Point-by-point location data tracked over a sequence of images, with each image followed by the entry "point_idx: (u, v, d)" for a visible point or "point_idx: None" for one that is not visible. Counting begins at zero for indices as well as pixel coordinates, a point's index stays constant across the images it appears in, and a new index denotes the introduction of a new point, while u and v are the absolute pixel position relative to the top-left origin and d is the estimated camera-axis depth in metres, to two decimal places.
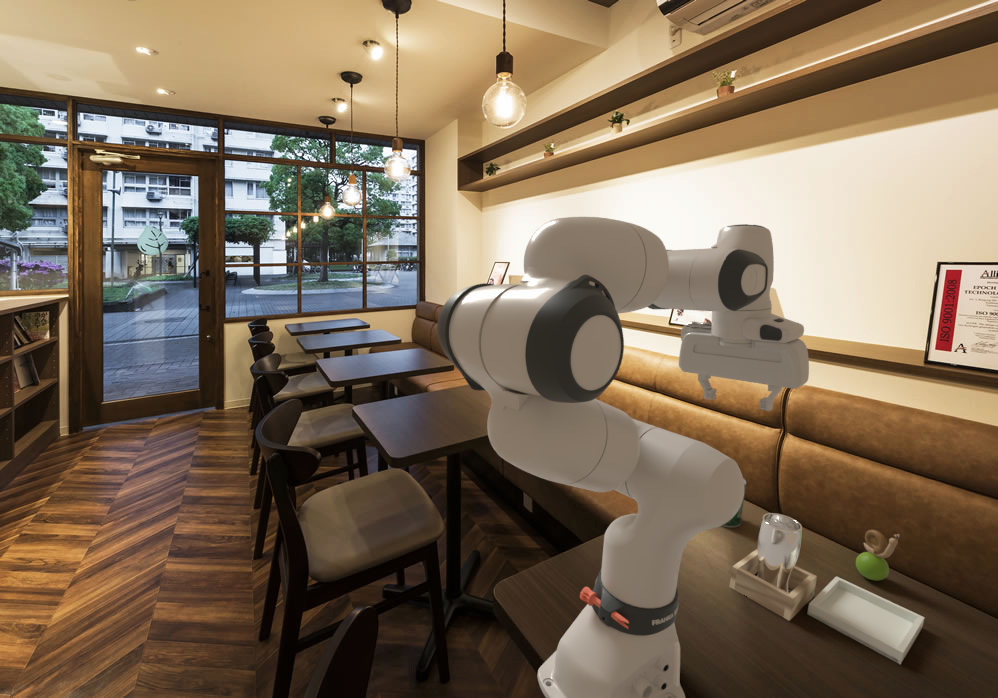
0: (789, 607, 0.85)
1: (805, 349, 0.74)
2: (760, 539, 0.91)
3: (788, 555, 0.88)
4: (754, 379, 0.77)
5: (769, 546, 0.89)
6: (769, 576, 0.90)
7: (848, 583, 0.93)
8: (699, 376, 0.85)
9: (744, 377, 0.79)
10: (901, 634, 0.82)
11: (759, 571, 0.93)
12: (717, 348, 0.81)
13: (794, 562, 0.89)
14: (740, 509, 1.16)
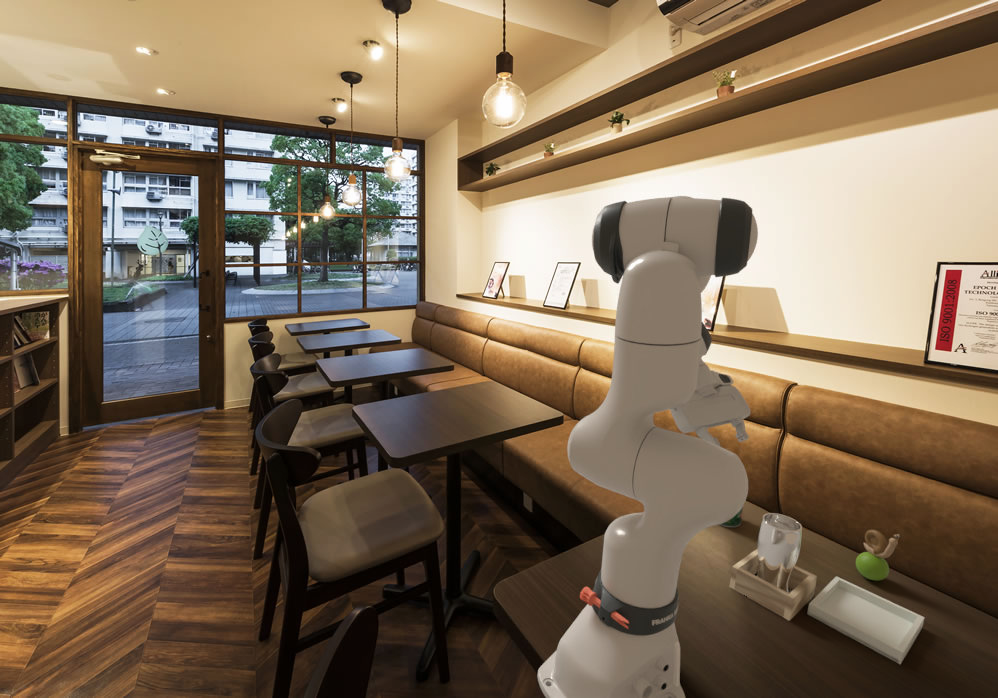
0: (789, 607, 0.85)
1: None
2: (760, 539, 0.91)
3: (788, 555, 0.88)
4: (732, 414, 1.02)
5: (769, 546, 0.89)
6: (769, 576, 0.90)
7: (848, 583, 0.93)
8: (703, 428, 0.97)
9: (728, 415, 1.01)
10: (901, 634, 0.82)
11: (759, 571, 0.93)
12: (701, 401, 1.01)
13: (794, 562, 0.89)
14: None
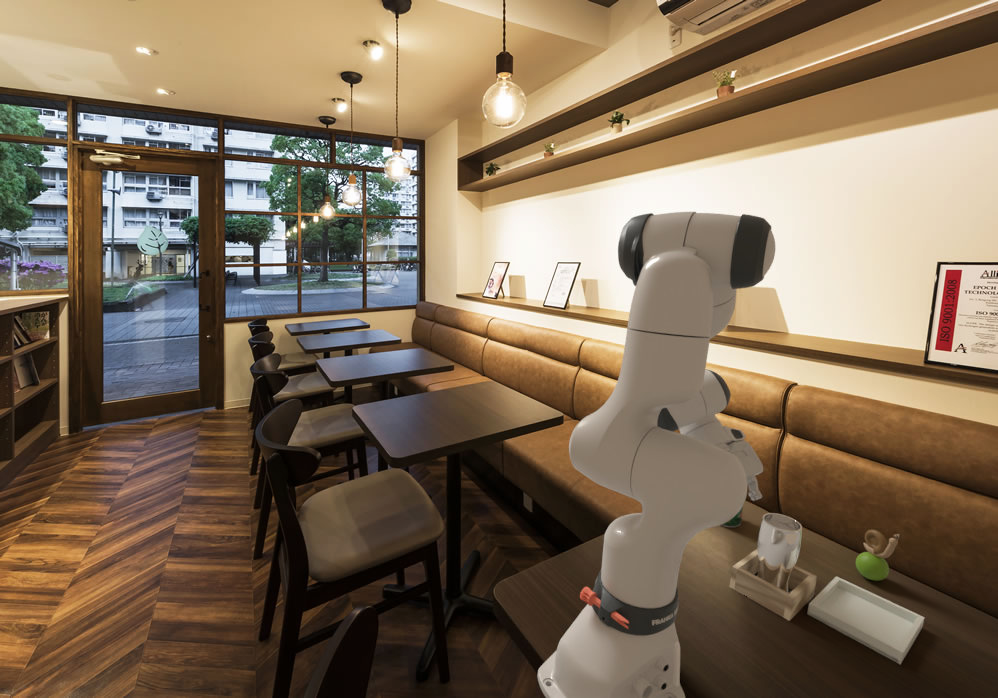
0: (789, 607, 0.85)
1: None
2: (760, 539, 0.91)
3: (788, 555, 0.88)
4: (745, 473, 1.00)
5: (769, 546, 0.89)
6: (769, 576, 0.90)
7: (848, 583, 0.93)
8: None
9: None
10: (901, 634, 0.82)
11: (759, 571, 0.93)
12: None
13: (794, 562, 0.89)
14: (740, 509, 1.16)
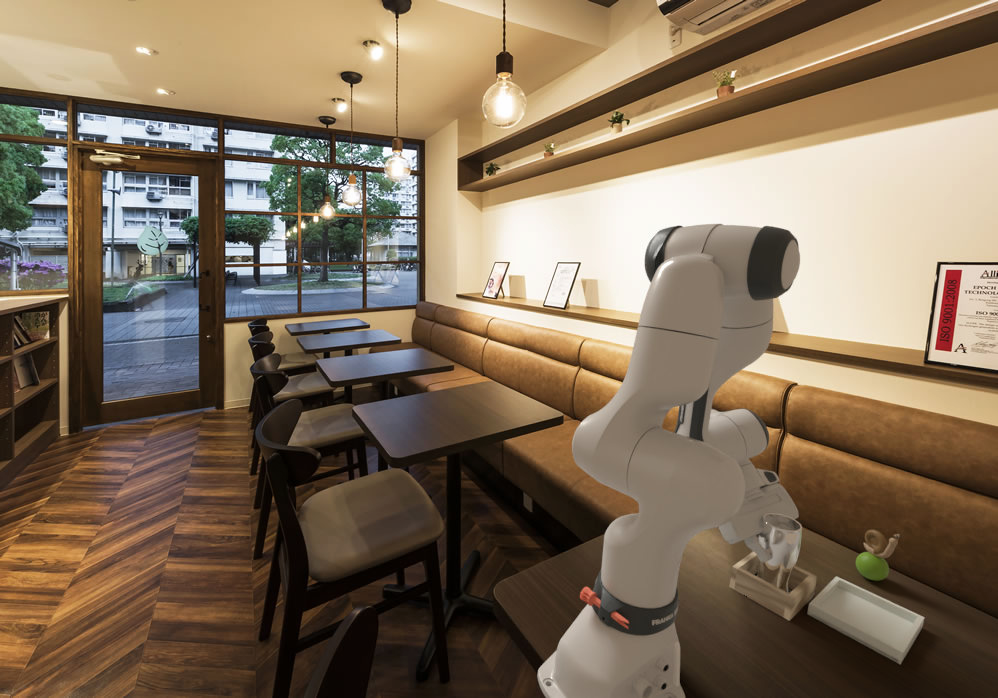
0: (789, 607, 0.85)
1: None
2: (760, 539, 0.91)
3: (788, 555, 0.88)
4: None
5: (769, 546, 0.89)
6: (769, 576, 0.90)
7: (848, 583, 0.93)
8: (754, 539, 0.89)
9: (776, 521, 0.93)
10: (901, 634, 0.82)
11: (759, 571, 0.93)
12: (747, 505, 0.93)
13: (794, 562, 0.89)
14: None
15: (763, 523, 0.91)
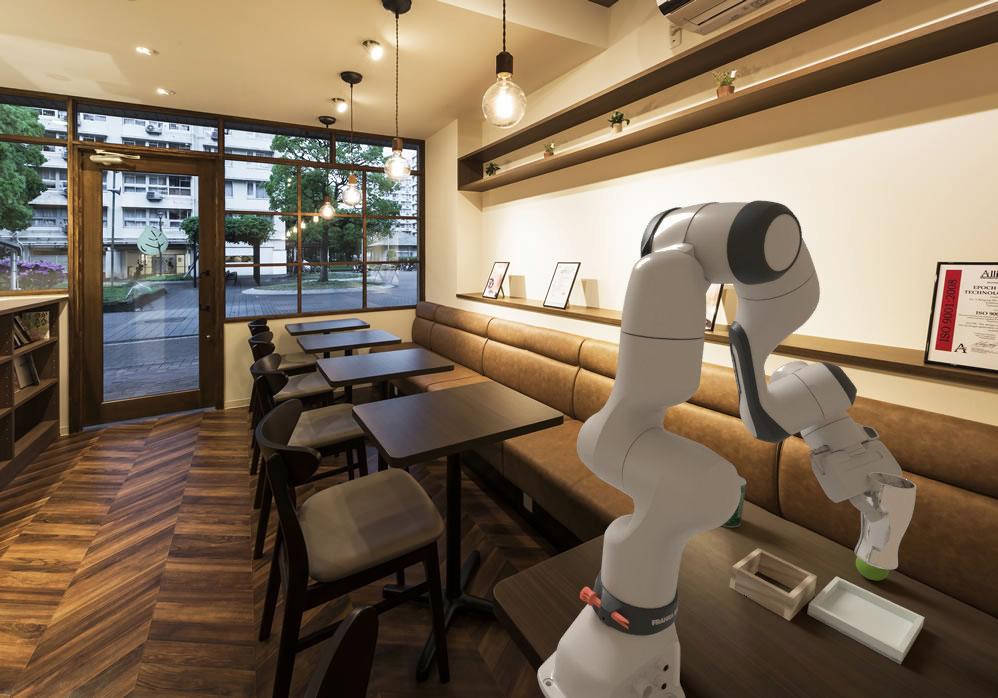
0: (789, 607, 0.85)
1: None
2: None
3: (902, 516, 0.79)
4: None
5: (879, 506, 0.80)
6: (877, 540, 0.81)
7: (848, 583, 0.93)
8: (862, 496, 0.80)
9: (882, 479, 0.84)
10: (901, 634, 0.82)
11: (863, 536, 0.84)
12: (850, 461, 0.84)
13: (907, 524, 0.80)
14: (740, 509, 1.16)
15: (870, 482, 0.82)
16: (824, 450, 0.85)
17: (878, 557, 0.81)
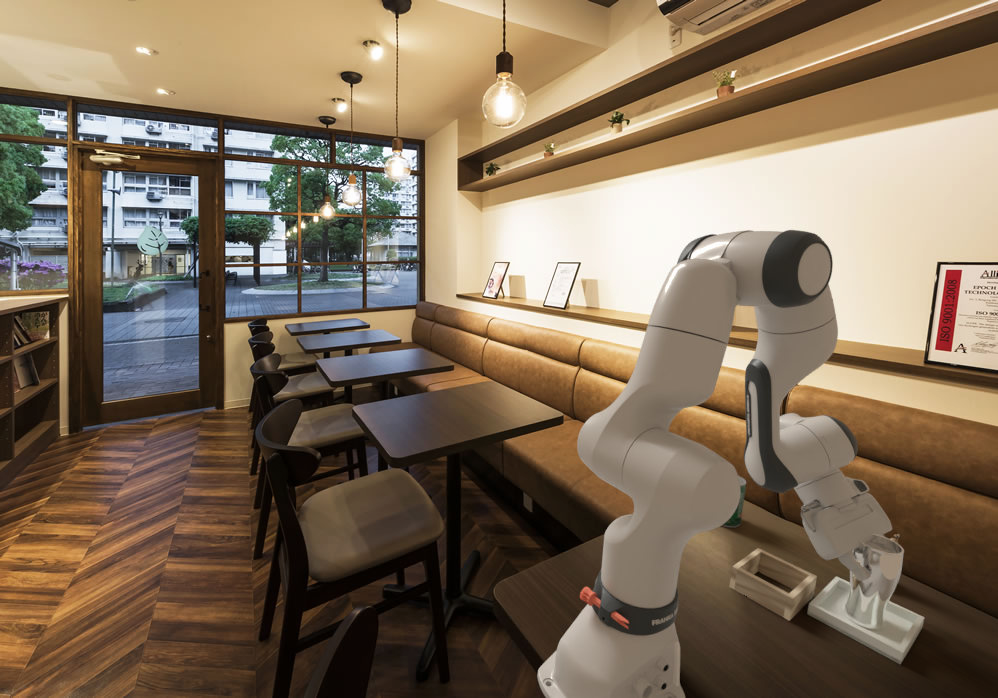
0: (789, 607, 0.85)
1: None
2: None
3: (889, 580, 0.81)
4: (876, 533, 0.87)
5: (868, 569, 0.82)
6: (866, 602, 0.83)
7: (848, 583, 0.93)
8: (850, 555, 0.82)
9: (871, 535, 0.86)
10: (901, 634, 0.82)
11: (852, 595, 0.86)
12: (840, 517, 0.86)
13: (894, 587, 0.82)
14: (740, 509, 1.16)
15: None
16: (815, 506, 0.87)
17: (866, 618, 0.83)
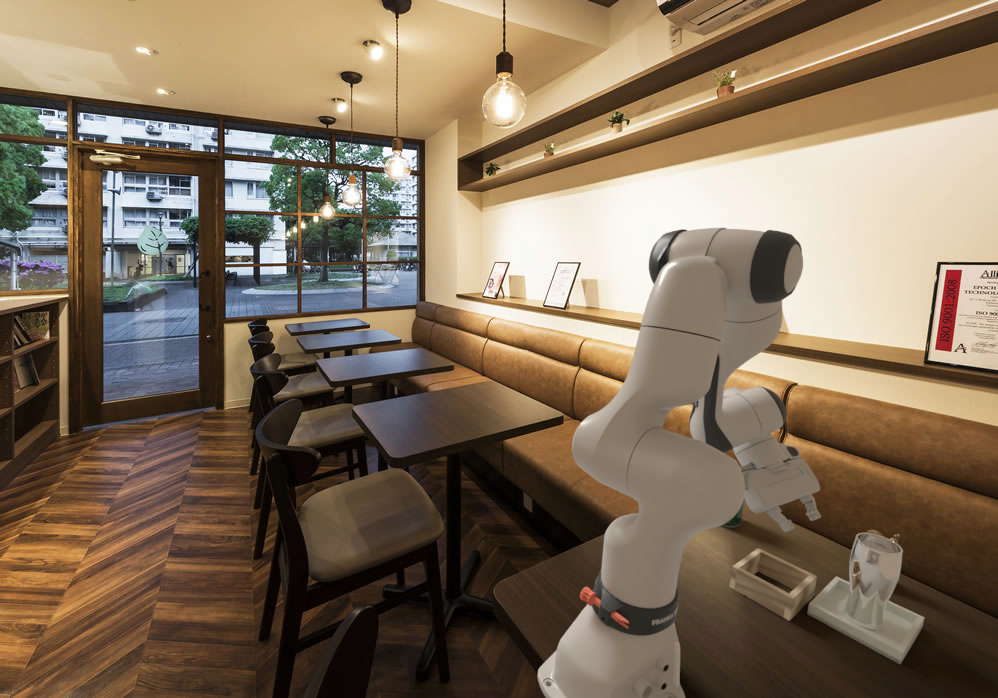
0: (789, 607, 0.85)
1: None
2: (854, 561, 0.84)
3: (888, 580, 0.81)
4: (803, 492, 0.97)
5: (867, 569, 0.82)
6: (865, 602, 0.83)
7: (848, 583, 0.93)
8: (776, 509, 0.93)
9: (799, 493, 0.96)
10: (901, 634, 0.82)
11: (851, 596, 0.86)
12: (771, 478, 0.96)
13: (894, 587, 0.82)
14: (740, 509, 1.16)
15: (858, 544, 0.84)
16: (749, 468, 0.97)
17: (866, 618, 0.83)
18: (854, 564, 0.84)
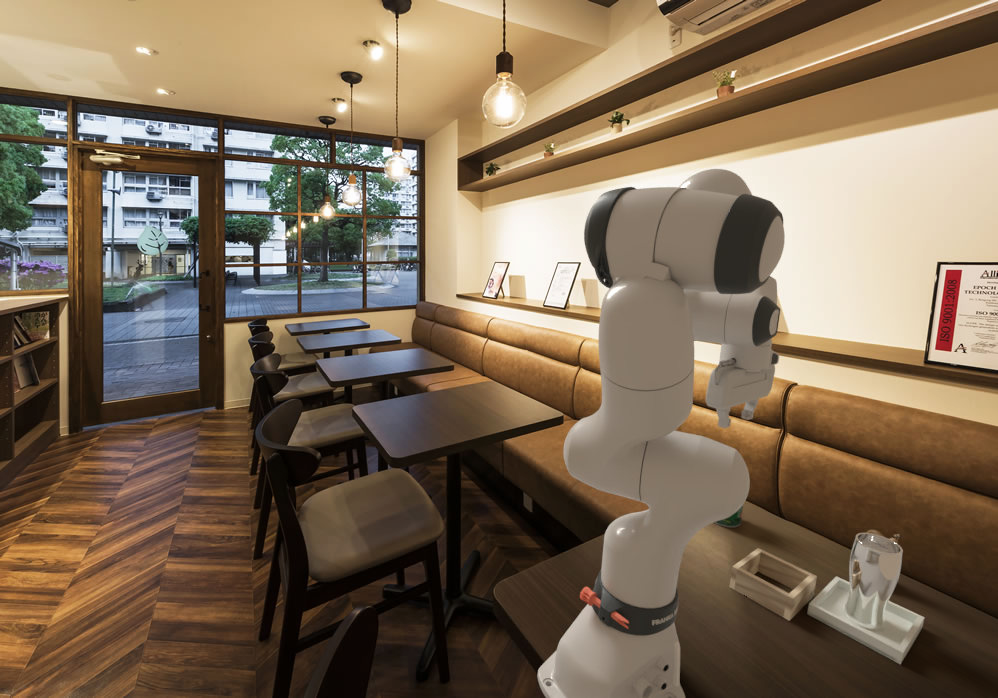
0: (789, 607, 0.85)
1: None
2: (854, 561, 0.84)
3: (888, 580, 0.81)
4: (756, 397, 0.97)
5: (867, 569, 0.82)
6: (865, 602, 0.83)
7: (848, 583, 0.93)
8: (727, 409, 0.92)
9: (752, 398, 0.96)
10: (901, 634, 0.82)
11: (851, 596, 0.86)
12: (742, 379, 0.92)
13: (894, 587, 0.82)
14: (740, 509, 1.16)
15: (858, 544, 0.84)
16: (731, 364, 0.91)
17: (866, 618, 0.83)
18: (854, 564, 0.84)
